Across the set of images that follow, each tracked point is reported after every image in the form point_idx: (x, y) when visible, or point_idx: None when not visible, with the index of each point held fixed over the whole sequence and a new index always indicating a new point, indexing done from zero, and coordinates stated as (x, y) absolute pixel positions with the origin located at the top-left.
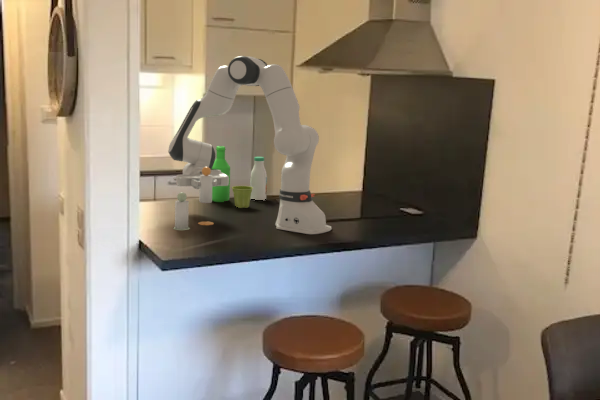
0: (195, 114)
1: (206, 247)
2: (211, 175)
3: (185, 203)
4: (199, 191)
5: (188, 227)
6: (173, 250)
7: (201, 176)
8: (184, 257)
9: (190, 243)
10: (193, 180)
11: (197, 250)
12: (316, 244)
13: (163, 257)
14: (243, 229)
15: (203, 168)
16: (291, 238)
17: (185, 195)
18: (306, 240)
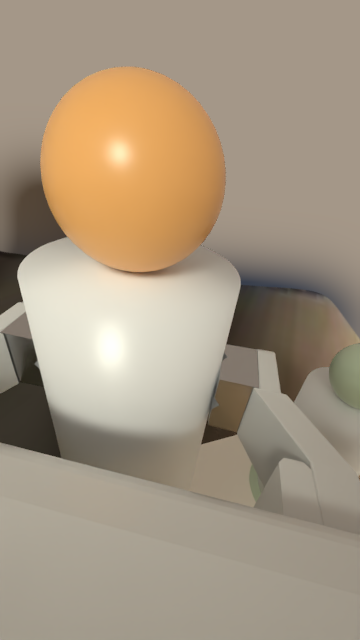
0: None
1: (240, 314)
2: (38, 256)
3: (322, 370)
4: (199, 449)
5: (254, 485)
6: (315, 324)
7: (228, 263)
8: (294, 294)
9: (271, 345)
10: (317, 432)
11: (263, 308)
12: (19, 259)
13: (333, 305)
14: (27, 402)
15: (210, 121)
16: (13, 291)
17: (344, 348)
18: (3, 274)
